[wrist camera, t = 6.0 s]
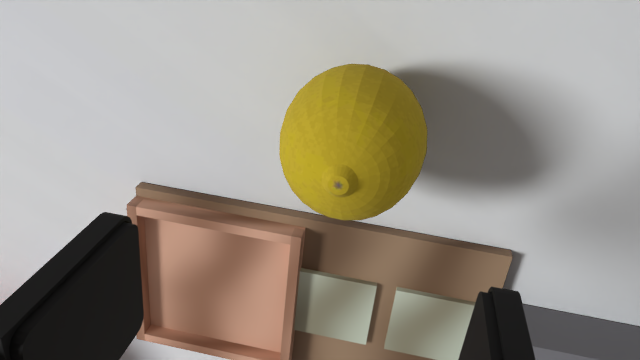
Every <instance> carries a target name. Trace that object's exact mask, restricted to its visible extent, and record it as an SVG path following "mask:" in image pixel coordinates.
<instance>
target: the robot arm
mask: <svg viewBox="0 0 640 360" xmlns="http://www.w3.org/2000/svg"><path fill="white" fill-rule="evenodd" d="M143 318H144V309H143V294H142V278H141V263H140V248H139V233H138V227H137V225H135V224H132V220H131V219H130V217H128V216H123V215H118V214H113V213H107V212H104V213H102V214H100V215H99V216H98V217H97V218H96V219H95V220H93V221H92V222H91V223H90V224H89V225H88V226H87V227H86V228H85V229H84V230H82V231H81V232H80V233H79V234H78V235H77V236H76V237H75V238H74V239H73V240H71V241H70V242H69V243H68V244H67V245H66V246H65V247H64V248H63V249H61V250H60V251H59V252H58V253H57V254H56V255H55V256H54V257H53V258H52V259H50V260H49V261H48V262H47V263H46V264H45V265H44V266H43V267H42V268H41V269H39V270H38V271H37V272H36V273H35V274H34V275H33V276H32V277H31V278H30V279H28V280H27V281H26V282H25V283H24V284H23V285H22V286H21V287H20V288H19V289H17V290H16V291H15V292H14V293H13V294H12V295H11V296H10V297H9V298H8V299H6V300H5V301H4V302H3V303H2V304H1V305H0V360H119V359H120V357H121V356H122V355H123V353H124V352H125V350H126V349H127V347H128V346H129V345H130V343H131V342H132V340H133V339H134V337H135V336H136V335H137V333H138V332H139V330H140V328H141V326H142V323H143ZM458 360H535V355H534V351H533V347H532V343H531V339H530V334H529V330H528V326H527V322H526V317H525V313H524V309H523V305H522V301H521V296H520V294H519V292H518V291H513V290H507V289H502V288H497V287H490V288H489V290H488V293H487V292H481V291H480V292H479V294H478V296H477V299H476V303H475V306H474V309H473V313H472V316H471V319H470V322H469V326H468V329H467V332H466V336H465V339H464V342H463V346H462V349H461V352H460V356H459V359H458Z"/></svg>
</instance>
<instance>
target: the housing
mask: <svg viewBox="0 0 640 360" xmlns="http://www.w3.org/2000/svg"><path fill="white" fill-rule="evenodd" d="M522 305H523V309H524V313H525V317H526V322H527V326H528V330H529V334H530V339H531V343H532V347H533V351H534V355H535V360H640V327H638V326H633V325H628V324H623V323H617V322H612V321H607V320H602V319H597V318H592V317H587V316H582V315H576V314H571V313H566V312H561V311H556V310H551V309H546V308H541V307H535V306H530V305H525V304H522Z"/></svg>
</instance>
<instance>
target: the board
mask: <svg viewBox="0 0 640 360" xmlns="http://www.w3.org/2000/svg"><path fill="white" fill-rule="evenodd" d="M127 216H128V217H130V219H131V220H132V224H135V225H137V227H138V233H139V248H140V263H141V278H142V294H143V309H144V318H143V323H142V326H141V328H140V330H139V332H138V333H137V339H140V340H145V341H149V342H154V343H158V344H163V345H167V346H172V347H176V348H181V349H186V350H190V351H195V352H199V353H204V354H208V355H213V356H217V357H222V358H226V359H231V360H458V359H459V356H460V352H461V349H462V346H463V342H464V339H465V336H466V332H467V329H468V326H469V322H470V319H471V316H472V313H473V309H474V306H475V303H476V299H477V296H478V294H479V292H480V291H481V292H487V293H488V290H489V288H490V287H497V288H503V285H504V282H505V279H506V276H507V273H508V270H509V267H510V264H511V261H512V258H513V257H512V253H511V250H507V249H502V248H496V247H491V246H486V245H480V244H475V243H469V242H464V241H458V240H453V239H447V238H442V237H437V236H431V235H426V234H420V233H415V232H409V231H404V230H399V229H393V228H388V227H382V226H377V225H371V224H366V223H361V222H355V221H350V220H340V219H335V218H330V217H327V216H322V215H317V214H312V213H306V212H301V211H295V210H290V209H284V208H279V207H274V206H268V205H263V204H257V203H252V202H246V201H241V200H236V199H230V198H225V197H219V196H214V195H208V194H203V193H198V192H192V191H187V190H181V189H176V188H170V187H165V186H159V185H154V184H149V183H143V182H141V183H140V184H139V185H138V186H137V187H136V197H134V198H133V199H132V200H131V201H130V202H129V203H128V204H127Z"/></svg>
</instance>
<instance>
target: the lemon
mask: <svg viewBox="0 0 640 360" xmlns="http://www.w3.org/2000/svg"><path fill="white" fill-rule="evenodd" d="M426 151H427V126H426V123H425V119H424V115H423V111H422V108H421V106H420V104H419V103H418V101H417V99H416V97H415V96H414V94H413V92H412V91H411V90H410V89H409V88H408V87H407V86H406V85H405V84H404V83H403V82H402V81H401V80H400V79H399V78H398V77H396V76H394V75H393V74H391V73H389V72H388V71H386V70H384V69H380V68H377V67H374V66H370V65H364V64H348V65H343V66H338V67H334V68H331V69H329V70H327V71H325V72H323V73H321V74H319V75H317V76H315V77H314V78H313V79H312V80H311V81H309V82H308V83H307V84H306V85H305V86H304V87H303V88H302V89H301V90H300V91H299V92H298V93H297V95H296V96H295V98H294V100H293V101H292V103H291V104H290V106H289V108H288V109H287V112H286V115H285V118H284V121H283V125H282V128H281V132H280V160H281V164H282V168H283V172H284V175H285V178H286V179H287V181H288V183H289V185H290V187H291V189H292V191H293V192H294V193H295V194H296V195H297V196H298V198H299V199H300V200H301V201H302V202H303V203H304V204H306V205H307V206H309V207H310V208H311V209H313V210H314V211H316V212H318V213H320V214H323V215H325V216H327V217H330V218H335V219H340V220H363V219H367V218H370V217H374V216H377V215H379V214H381V213H382V212H384V211H386V210H388V209H390V208H392V207H393V206H394V205H395V204H396V203H397V202H399V201H400V200H401V199H402V198H403V197H404V196H405V195H406V194H407V193H408V191H409V190H410V188H411V187H412V185H413V183H414V182H415V180H416V179H417V177H418V175H419V174H420V171H421V168H422V165H423V161H424V158H425V155H426Z"/></svg>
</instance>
